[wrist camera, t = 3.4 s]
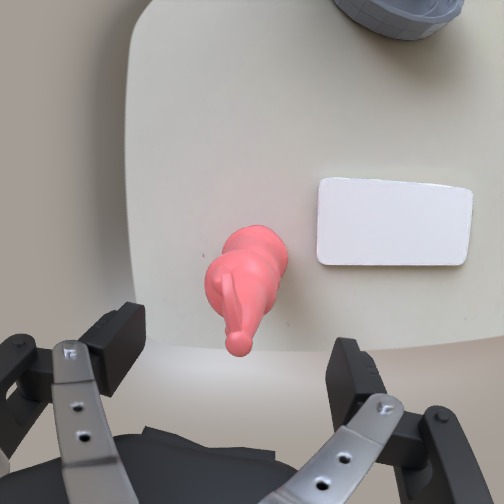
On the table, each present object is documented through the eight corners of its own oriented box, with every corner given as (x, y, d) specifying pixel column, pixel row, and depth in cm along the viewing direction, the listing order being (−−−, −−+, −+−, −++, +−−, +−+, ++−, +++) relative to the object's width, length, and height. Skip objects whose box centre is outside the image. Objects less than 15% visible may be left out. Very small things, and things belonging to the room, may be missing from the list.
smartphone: (319, 176, 24) (473, 189, 23) (318, 176, 25) (469, 188, 23) (316, 265, 26) (464, 265, 25) (315, 262, 27) (461, 263, 25)
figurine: (219, 223, 26) (155, 295, 12) (279, 211, 26) (284, 272, 11) (233, 279, 28) (192, 394, 13) (291, 269, 27) (305, 382, 13)
